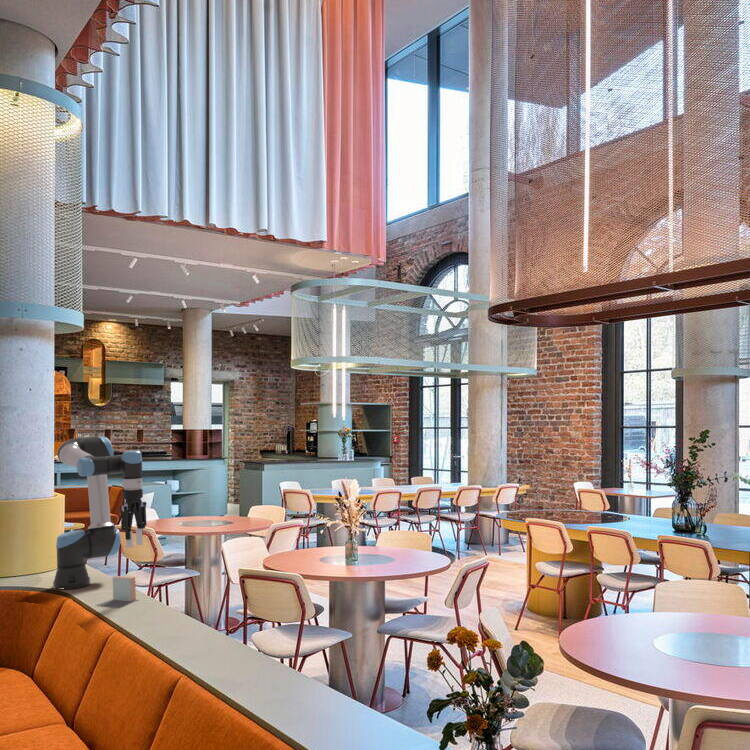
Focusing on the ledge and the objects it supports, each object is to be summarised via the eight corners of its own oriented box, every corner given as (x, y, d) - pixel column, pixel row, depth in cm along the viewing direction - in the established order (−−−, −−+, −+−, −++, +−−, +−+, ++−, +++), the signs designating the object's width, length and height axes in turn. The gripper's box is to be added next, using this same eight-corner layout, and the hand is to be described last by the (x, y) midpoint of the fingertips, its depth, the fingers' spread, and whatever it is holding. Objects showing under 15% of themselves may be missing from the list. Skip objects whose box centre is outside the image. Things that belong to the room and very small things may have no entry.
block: (117, 598, 319) (117, 576, 319) (135, 600, 315) (135, 577, 315) (113, 600, 316) (112, 577, 316) (131, 601, 313) (130, 578, 313)
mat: (115, 599, 320) (115, 597, 320) (140, 601, 315) (139, 599, 315) (94, 607, 309) (94, 605, 309) (119, 609, 304) (119, 607, 304)
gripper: (125, 491, 313) (126, 550, 313) (154, 486, 330) (156, 542, 330) (110, 491, 316) (111, 550, 316) (140, 486, 333) (141, 541, 333)
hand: (134, 545), depth 323 cm, fingers open, 5 cm apart
